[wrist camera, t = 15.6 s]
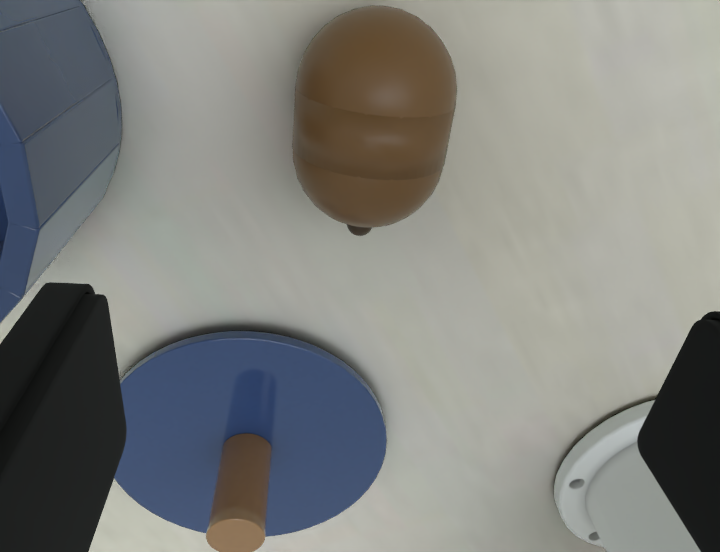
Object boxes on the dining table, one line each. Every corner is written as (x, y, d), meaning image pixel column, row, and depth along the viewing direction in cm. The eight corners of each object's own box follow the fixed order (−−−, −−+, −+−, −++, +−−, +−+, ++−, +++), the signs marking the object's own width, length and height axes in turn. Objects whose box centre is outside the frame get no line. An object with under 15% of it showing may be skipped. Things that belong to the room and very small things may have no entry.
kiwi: (302, -11, 20) (297, 6, 15) (452, 6, 21) (492, 28, 16) (290, 200, 24) (284, 264, 19) (416, 210, 25) (440, 274, 20)
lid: (403, 330, 28) (424, 424, 23) (367, 521, 35) (376, 625, 30) (90, 314, 26) (33, 411, 21) (121, 518, 34) (85, 628, 28)
